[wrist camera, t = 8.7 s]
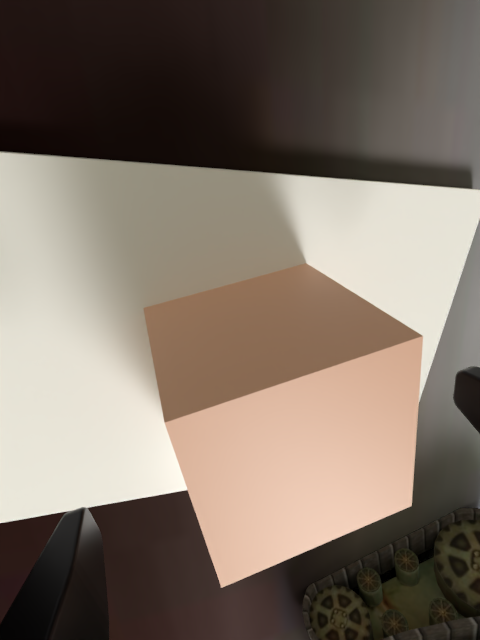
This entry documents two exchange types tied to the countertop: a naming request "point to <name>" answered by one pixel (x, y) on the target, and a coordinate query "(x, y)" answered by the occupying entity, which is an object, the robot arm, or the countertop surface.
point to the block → (286, 413)
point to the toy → (405, 588)
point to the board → (174, 297)
